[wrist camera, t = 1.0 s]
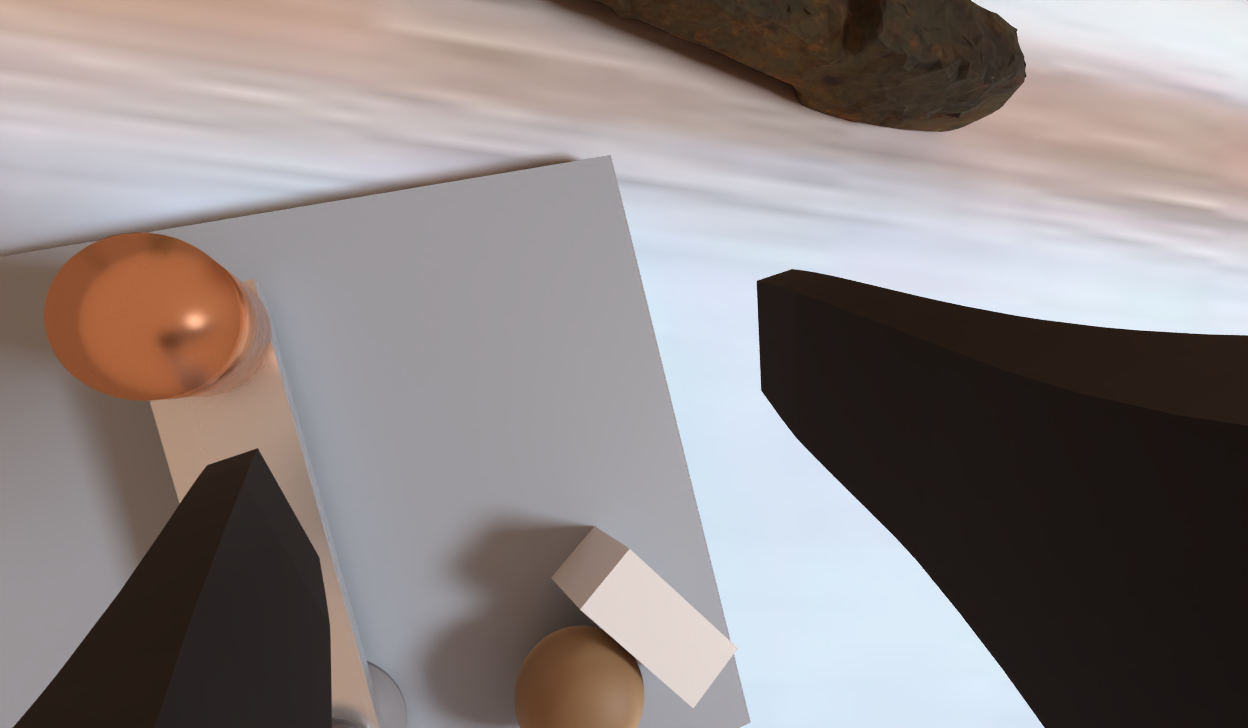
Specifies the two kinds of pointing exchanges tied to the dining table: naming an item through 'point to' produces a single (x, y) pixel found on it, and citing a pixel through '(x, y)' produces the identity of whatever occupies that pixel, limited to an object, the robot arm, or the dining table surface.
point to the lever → (204, 393)
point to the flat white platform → (406, 448)
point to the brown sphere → (579, 682)
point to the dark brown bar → (860, 53)
